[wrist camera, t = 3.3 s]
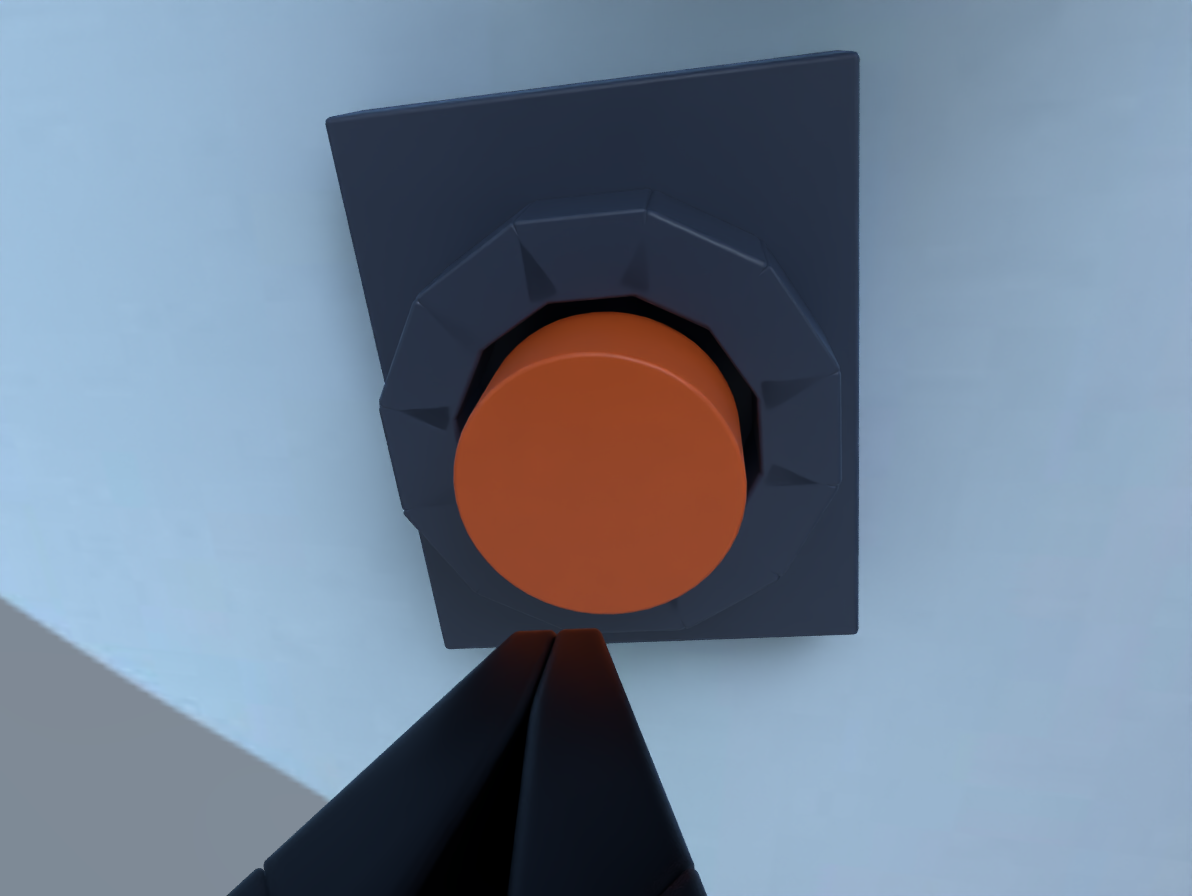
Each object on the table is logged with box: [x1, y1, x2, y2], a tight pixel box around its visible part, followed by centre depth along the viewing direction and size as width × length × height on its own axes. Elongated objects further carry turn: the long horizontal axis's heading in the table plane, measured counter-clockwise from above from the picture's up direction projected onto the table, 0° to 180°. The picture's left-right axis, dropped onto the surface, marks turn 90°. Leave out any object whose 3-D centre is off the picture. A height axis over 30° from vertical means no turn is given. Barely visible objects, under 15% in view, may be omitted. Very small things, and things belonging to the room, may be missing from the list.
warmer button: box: [453, 312, 747, 614], centre depth 13 cm, size 4×4×2 cm
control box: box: [326, 50, 860, 649], centre depth 15 cm, size 10×8×4 cm
